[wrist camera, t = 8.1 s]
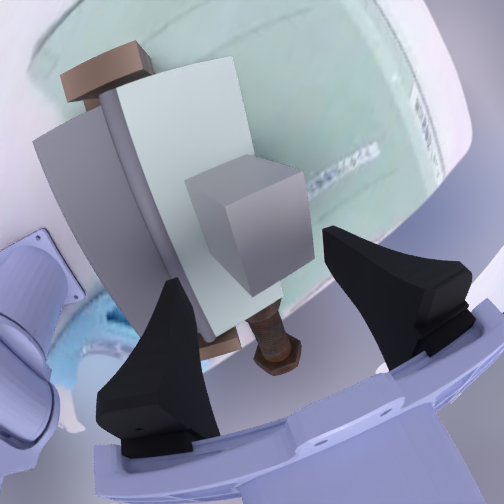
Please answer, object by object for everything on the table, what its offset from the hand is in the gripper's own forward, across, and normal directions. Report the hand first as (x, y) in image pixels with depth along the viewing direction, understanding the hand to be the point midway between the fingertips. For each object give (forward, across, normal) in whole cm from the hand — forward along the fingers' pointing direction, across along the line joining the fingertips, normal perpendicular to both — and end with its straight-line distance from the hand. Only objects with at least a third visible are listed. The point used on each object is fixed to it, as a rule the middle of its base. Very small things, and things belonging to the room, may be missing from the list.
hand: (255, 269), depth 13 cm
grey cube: (+5, 0, -1) cm, 5 cm away
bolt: (+11, 0, +13) cm, 17 cm away
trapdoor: (+7, +4, -1) cm, 8 cm away
